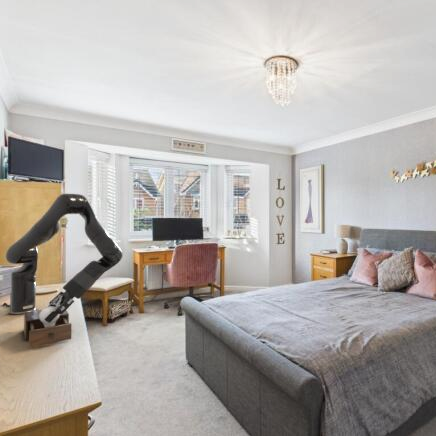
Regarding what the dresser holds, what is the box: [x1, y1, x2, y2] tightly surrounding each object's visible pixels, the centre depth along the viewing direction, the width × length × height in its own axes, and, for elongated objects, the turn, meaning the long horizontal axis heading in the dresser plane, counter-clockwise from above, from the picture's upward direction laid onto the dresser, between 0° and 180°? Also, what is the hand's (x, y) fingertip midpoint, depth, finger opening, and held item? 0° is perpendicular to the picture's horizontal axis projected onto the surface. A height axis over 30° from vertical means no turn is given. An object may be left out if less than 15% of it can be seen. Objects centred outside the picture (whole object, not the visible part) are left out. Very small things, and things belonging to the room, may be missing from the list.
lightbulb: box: [39, 306, 60, 328], centre depth 121 cm, size 6×6×11 cm
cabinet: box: [23, 309, 70, 341], centre depth 130 cm, size 14×14×8 cm
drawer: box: [28, 317, 72, 349], centre depth 120 cm, size 14×12×6 cm
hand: (44, 318), depth 120 cm, fingers open, 8 cm apart
